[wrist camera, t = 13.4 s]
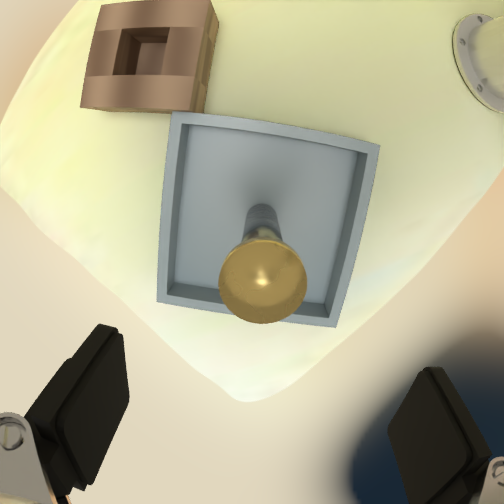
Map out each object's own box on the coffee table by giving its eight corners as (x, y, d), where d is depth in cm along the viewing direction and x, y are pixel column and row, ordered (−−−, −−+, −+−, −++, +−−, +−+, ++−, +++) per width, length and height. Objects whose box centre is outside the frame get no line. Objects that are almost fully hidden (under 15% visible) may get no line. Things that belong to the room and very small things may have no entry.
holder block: (219, 23, 25) (210, -1, 20) (202, 116, 28) (189, 110, 23) (125, 23, 25) (101, 5, 19) (109, 111, 28) (79, 107, 23)
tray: (366, 144, 29) (380, 145, 25) (329, 309, 35) (335, 327, 31) (182, 114, 28) (172, 111, 25) (166, 285, 34) (156, 301, 31)
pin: (289, 199, 30) (315, 250, 16) (281, 245, 32) (297, 328, 17) (241, 191, 30) (223, 236, 16) (234, 238, 31) (214, 317, 17)
